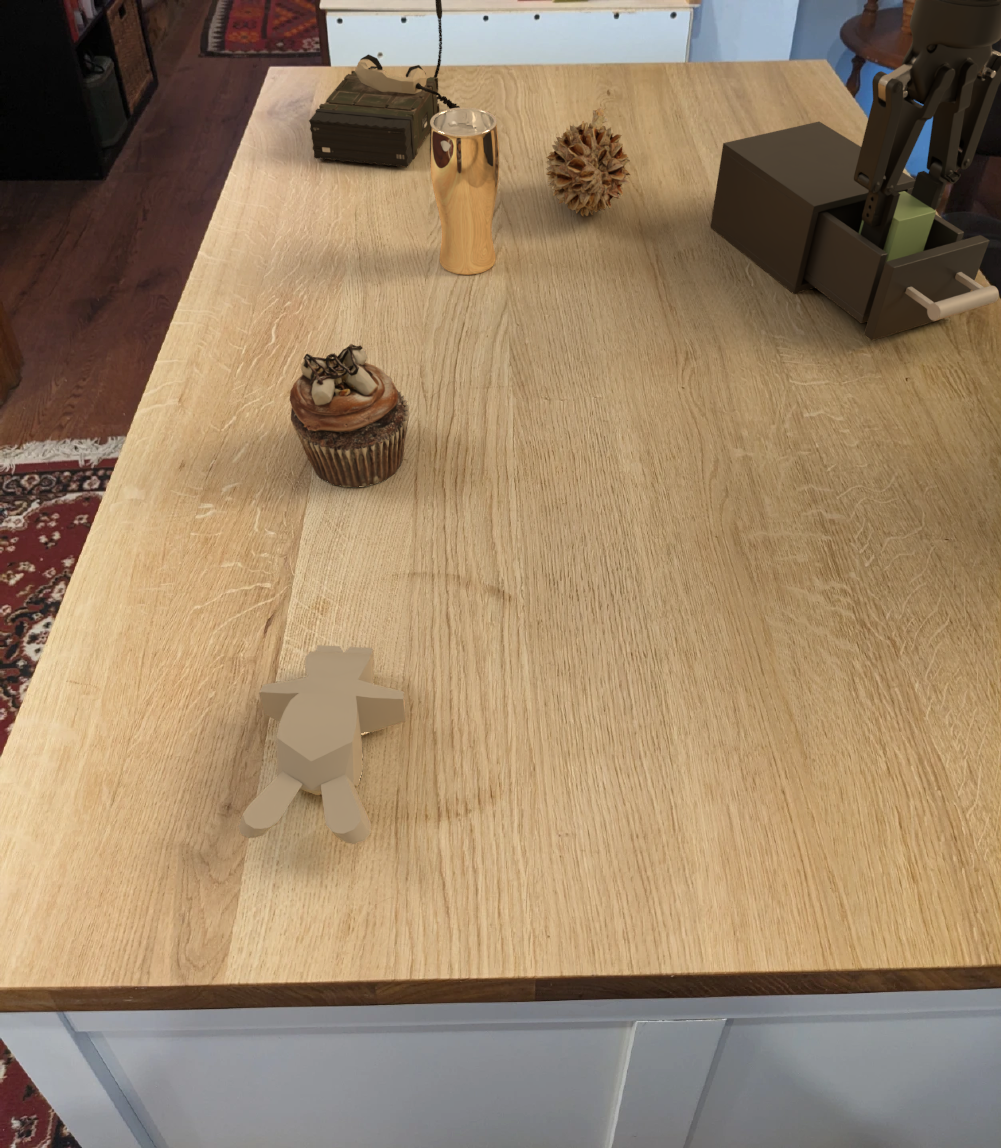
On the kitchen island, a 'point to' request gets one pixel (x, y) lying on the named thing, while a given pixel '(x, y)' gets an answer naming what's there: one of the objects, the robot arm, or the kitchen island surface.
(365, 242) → the kitchen island surface
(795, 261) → the cabinet
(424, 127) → the radio
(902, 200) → the block
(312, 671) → the teddy bear
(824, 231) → the drawer
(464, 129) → the beer glass
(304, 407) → the cupcake
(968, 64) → the robot arm
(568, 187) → the pine cone
